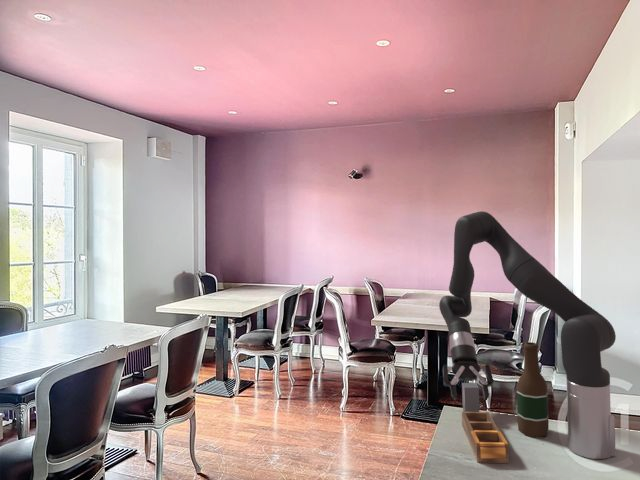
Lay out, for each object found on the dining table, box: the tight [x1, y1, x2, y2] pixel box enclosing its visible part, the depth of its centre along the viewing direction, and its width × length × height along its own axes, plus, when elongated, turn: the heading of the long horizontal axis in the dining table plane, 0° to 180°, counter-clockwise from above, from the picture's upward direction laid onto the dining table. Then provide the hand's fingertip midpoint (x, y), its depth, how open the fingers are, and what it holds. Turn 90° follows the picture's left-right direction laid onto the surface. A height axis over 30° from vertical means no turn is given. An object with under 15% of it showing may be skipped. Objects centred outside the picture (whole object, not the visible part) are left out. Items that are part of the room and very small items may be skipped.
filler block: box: [461, 382, 480, 412], centre depth 135 cm, size 4×4×10 cm
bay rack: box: [461, 411, 510, 464], centre depth 119 cm, size 7×21×4 cm, turn 173°
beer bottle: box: [516, 341, 549, 438], centre depth 124 cm, size 8×8×24 cm
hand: (470, 399), depth 135 cm, fingers open, 8 cm apart
